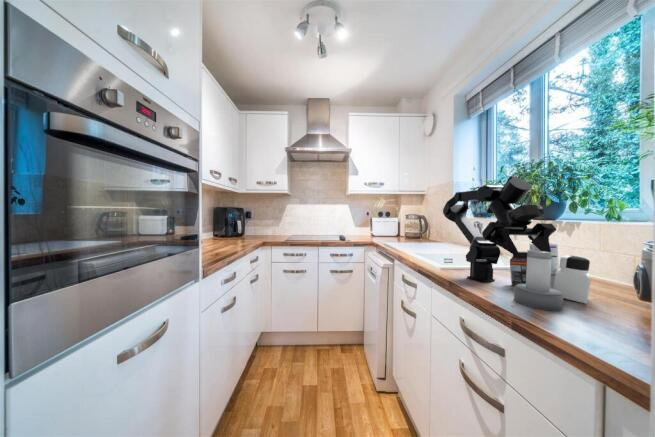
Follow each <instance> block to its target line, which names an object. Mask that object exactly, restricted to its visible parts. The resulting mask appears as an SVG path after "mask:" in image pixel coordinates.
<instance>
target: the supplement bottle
mask: <svg viewBox="0 0 655 437" xmlns="http://www.w3.org/2000/svg"><path fill="white" fill-rule="evenodd" d="M517 251H518V253H519V254H518V255H517V256H515V255H513V254H512V257H511V258H510V259H509V269H510V271H509V272H510V281H511V285H512V286H514V287H515V286H516V285H518V284H526V270H527V251H519V250H517Z"/></svg>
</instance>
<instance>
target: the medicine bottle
mask: <svg viewBox="0 0 655 437" xmlns="http://www.w3.org/2000/svg"><path fill="white" fill-rule="evenodd" d="M590 264H591V261H590V260H589V259H587V258H586V257H582V256H577V255H562V256H560V260H559V269H557V271H556V273H555V280H554V287H553V289H555V290H558V291H560V292H561V293H562V294H563V300H564V299H565V300H569V301H573V302H578V303H581V304H584V305H585V304H586V305H587V304H588V300H589V293H590V286H591V281H592V279H591V275H590V274H589V270H590Z"/></svg>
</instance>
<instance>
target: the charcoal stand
mask: <svg viewBox="0 0 655 437" xmlns="http://www.w3.org/2000/svg"><path fill="white" fill-rule="evenodd" d="M513 292H514V294H513V300H514V301H515V303H518V304H520V305H522V306H525V307H529V308H532V309H537V310H543V311H551V312H558V311H562V310H563V305H564V304H563V303H564V302H563V301H564V298H563V294H562V293H561V292H560V291H558V290H555V289H552V288H550V291H549V292H543V291H536V290H532V289H528V288H526V284H518V285H516V286H514V291H513Z"/></svg>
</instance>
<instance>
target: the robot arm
mask: <svg viewBox="0 0 655 437" xmlns="http://www.w3.org/2000/svg"><path fill="white" fill-rule="evenodd" d="M531 188H532V185H531V183H530V182H528V181H526V180H524V179H522V178H519V177H518V175H511V176H509V178H508V179H507V181H506V183H505V184H504V185H487V184H486V185H482V186H479V187H477V189H474V190H467V191H457V192H455V193H454V195H453V197H452V198H450V199H449V200H447V201H446V203H445V204H444V206H443V208H442V214H443V215H444V217H445V218H446V219H447V220H448V221H450V222H453V223H455V225H456V226H457V227H458V228H459V230H460V232H461V233H462V234H463V236H464V237H465V238H466V240H467V241H468V243H469V250H468V251H467V253H466V254H465V261H466V262H467V263H470V264H469V265H470V266H469V267H470V268H469V270H470V272H469V275H467V276H466V278H467V279H470V280H473V281H477V282H480V283H487V282H488V283H489V282H495V281H496V280H495V279H494V268H493V265H497V264H498V262H499V259H500V256H501V249H500V248H502V249H504V250H505V251H507V252H509V253H510V254H511V255H512V256H513V255H515V256H517V255H518V254H519V253H518V251H519V250H518V248H517V247H516V245H515V244H514V242H513V241H514V240H512V237H511V236H526V237H527V238H528V240H530V241H531V242H530V243H532V244H533V245H535V246H536V247H537V248H538V249H539V250H540V251H546V252H551V249H550V244H549V243H550V236H551V235H552V234H553V233H554V232H556V231H557V228H556V227H555V225H554V224H553V223H544V222H543V223H542V222H541V223H540V222H538V223H536V224H535V225H534V226H533V227H532V228H531V227H528V226H529V225H530V224H532V223H533V222H532V221H531V220H534V219H536V218H537V217H538V218H539V217H541V216H543V215H544V214H545V210H544V208H543V206H541V205H540V204H520V205H519V206H517V207H515V206H514V205H513V204H515V205H516V204H519V203H520V202H521V201H522V200H523V198H524V197H525V196H526V195H527V194H528V193H529V191H530V189H531ZM472 201H478V202H482V203H490V204H489V205H488V208H487V210H486V213H487V214H489V215H490V214H491V215H494V216H495V219H496V221H490V222H489V223H488V224H487V226H485V228H484V229H483V230H482V233H480V231H479V230H478V229H477V227H476V226H475V225H474V224H473V222H471V220H470V218H468V217H467V212H468V210H469V202H472ZM458 202H460V203H461V202H463V204H458Z"/></svg>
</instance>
